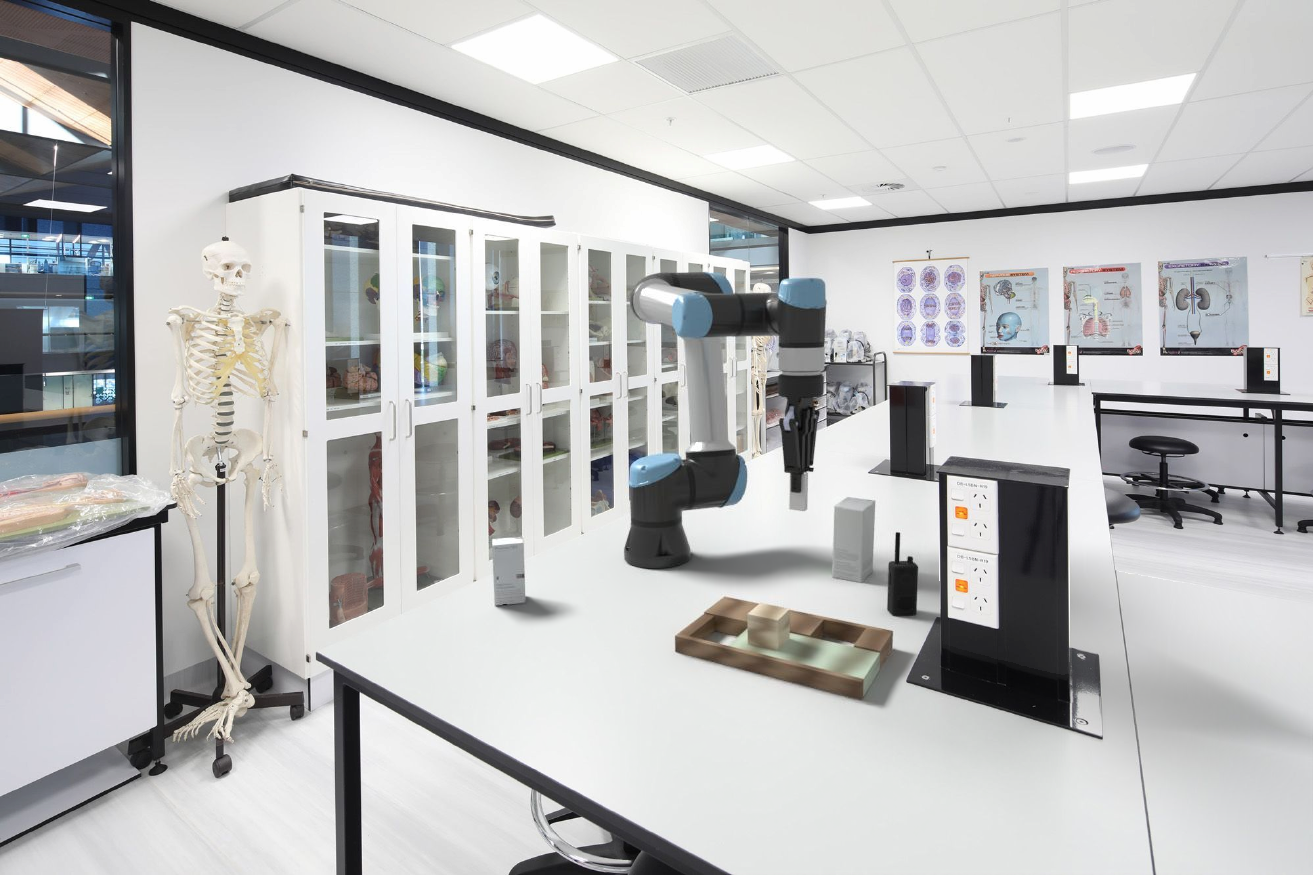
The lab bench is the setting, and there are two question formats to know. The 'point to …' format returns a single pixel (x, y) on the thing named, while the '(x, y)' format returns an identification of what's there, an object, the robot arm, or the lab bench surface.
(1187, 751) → the lab bench surface
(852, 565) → the skincare box
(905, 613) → the walkie-talkie
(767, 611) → the block
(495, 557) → the skincare box
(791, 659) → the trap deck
